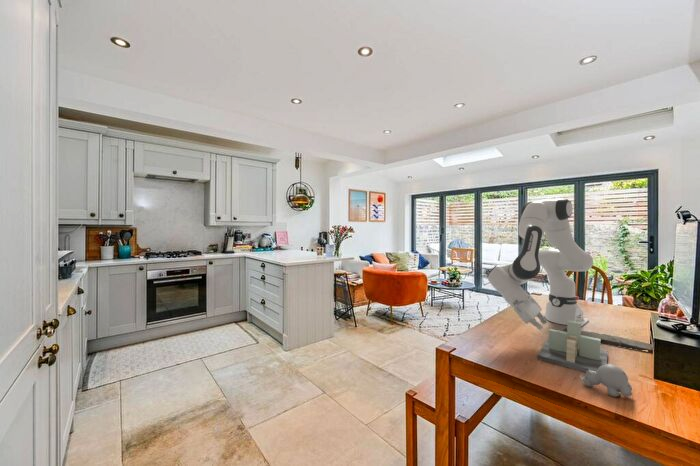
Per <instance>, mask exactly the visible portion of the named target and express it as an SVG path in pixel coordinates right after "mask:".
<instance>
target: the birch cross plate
mask: <svg viewBox="0 0 700 466" xmlns="http://www.w3.org/2000/svg"><path fill="white" fill-rule="evenodd" d="M608 352H609V351H608V350H604V349H600V361H599V360H595V359H591V358H587V357H583V356H579V354H580V346H577V337H576V336H571V335H569V337H568V340H567V353H566V352H562V351H558V350H554V349H550V348H549V337H548V338H547V339H546V341H545V343H544V345H543V346H542V347H541V349H540V350H539V352H538V354H537V360H539V361H543V362H546V363H550V364H553V365H557V366H562V367H564V368H565V367H566V368H569V369H573V370H576V371H580V372H583V373H586V371H588V368H590V369H591V370H592V371H597V370H598V368H599V367H600V366H602V365H605V364H608Z"/></svg>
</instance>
